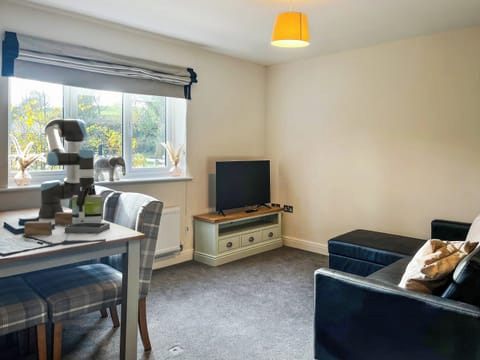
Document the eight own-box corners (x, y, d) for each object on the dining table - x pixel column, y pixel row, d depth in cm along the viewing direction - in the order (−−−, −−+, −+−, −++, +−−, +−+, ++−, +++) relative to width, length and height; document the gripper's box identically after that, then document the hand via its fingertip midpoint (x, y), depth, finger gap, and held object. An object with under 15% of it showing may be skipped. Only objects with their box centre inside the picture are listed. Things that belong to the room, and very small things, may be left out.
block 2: (58, 223, 233) (58, 212, 233) (77, 224, 232) (77, 212, 232) (55, 224, 229) (54, 213, 229) (74, 225, 228) (74, 213, 228)
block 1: (27, 234, 204) (26, 221, 203) (51, 234, 206) (51, 221, 206) (24, 236, 200) (24, 223, 199) (49, 235, 202) (49, 222, 202)
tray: (77, 227, 223) (77, 222, 223) (109, 228, 222) (109, 223, 221) (64, 232, 209) (64, 227, 209) (98, 233, 208) (98, 228, 207)
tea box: (72, 224, 207) (71, 197, 206) (73, 221, 217) (72, 194, 216) (101, 222, 213) (101, 196, 212) (101, 219, 222) (101, 194, 221)
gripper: (90, 175, 225) (91, 211, 227) (68, 178, 201) (69, 219, 203) (103, 175, 225) (103, 212, 226) (82, 178, 200) (83, 219, 202)
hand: (87, 215), depth 215 cm, fingers closed on tea box, 12 cm apart
